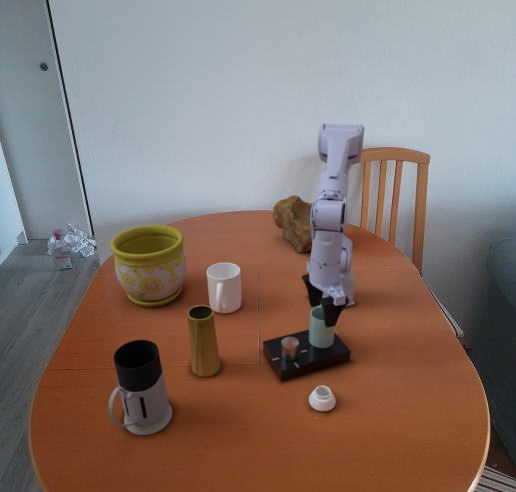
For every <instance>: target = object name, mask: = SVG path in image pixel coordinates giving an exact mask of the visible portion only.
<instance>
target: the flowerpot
mask: <svg viewBox="0 0 516 492" xmlns="http://www.w3.org/2000/svg"><path fill="white" fill-rule="evenodd" d="M184 238H185V237H184V234H183V233H182V232H181V230H179V229H177V228H175V227H173V226H169V225H163V224H147V225H140V226H135V227H132V228H129V229H126V230H123V231H121V232H119V233H117V235H115V236H114V237H113V238H112V239H111V241H110V244H109V246H110V250H111V252H112V254H113V255H112V256H113V258H114V268H115V275H116V278H117V281H118V283H119V285H120V286H121V288H122V289H123V290H124V291H125V293H126V294H127V297H128V299H129V300H130V301H131V302H133V303H135V304H136V305H138V306H141V307H147V308H153V307H160V306H164V305H167V304H169V303H171V302H173V301H174V300H175V299H176V298H177V297H178V296H179V295H180V293H181V291H182V289H183V285H182V284H183V283H184V281H185V278H186V272H187V262H186V255H185V251H184V244H183V243H184Z"/></svg>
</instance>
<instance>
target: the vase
mask: <svg viewBox="0 0 516 492" xmlns="http://www.w3.org/2000/svg"><path fill="white" fill-rule="evenodd" d="M187 323H188V334H189V345H190V359H191V366H190V367H191V371H192V373H193V374H194V375H195V376H198V377H202V378H207V377H212V376H214V375H215V374H217V373H218V372H219V371H220V369H221V362H220V352H219V346H218V337H217V331H216V324H215V323H216V322H215V311H214V310H213V308H212V307H210V305H207V304H197V305H193V306H192V307H190V308H189V309H188V310H187Z"/></svg>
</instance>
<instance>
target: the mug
mask: <svg viewBox="0 0 516 492" xmlns="http://www.w3.org/2000/svg"><path fill="white" fill-rule="evenodd" d="M241 275H242V274H241V268H240V266H239V265H238V264H235V263H232V262H218V263H214V264H212V265H210V266H209V267H208V268H207V270H206V279H207V291H208V304H209V306H210V307H212V308H213V310H214V313H218V314H231V313H234V312H236V311H238V310H239V309H240V308H241V306H242V301H243V300H242V298H243V297H242V278H241V277H242V276H241Z"/></svg>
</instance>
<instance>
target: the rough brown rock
mask: <svg viewBox="0 0 516 492" xmlns="http://www.w3.org/2000/svg"><path fill="white" fill-rule="evenodd" d="M312 204H313V202H312V203H311V202H306V201H304V200H303V199H302V198H301V197H300V196H299V195H289V196H288V197H287V198H283V199H280V200H278V201H277V202H275V205H274V206H273V207H272V220H273V223H274V225H275V226H276V227H277V228H278V229H281V233H282V235H283V237H284V239H286V240H287V241H288V242H291V244H292V245H293V246H294V248H295V250H296V252H297V253H300V254H302V253H307V252H311V251H312V240H313V239H311V224H310V217H311V208H312Z"/></svg>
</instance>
